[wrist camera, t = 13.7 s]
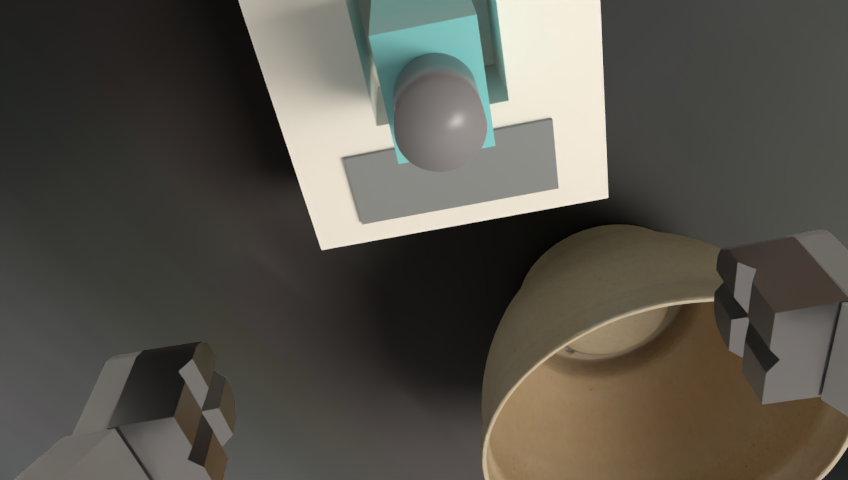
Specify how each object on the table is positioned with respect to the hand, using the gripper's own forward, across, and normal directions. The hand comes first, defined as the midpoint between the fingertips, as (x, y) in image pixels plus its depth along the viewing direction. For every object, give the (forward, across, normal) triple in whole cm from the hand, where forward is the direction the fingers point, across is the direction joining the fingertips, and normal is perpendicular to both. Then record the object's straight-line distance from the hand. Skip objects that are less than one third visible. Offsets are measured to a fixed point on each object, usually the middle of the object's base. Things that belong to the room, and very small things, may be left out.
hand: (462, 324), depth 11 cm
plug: (+19, 0, +1) cm, 19 cm away
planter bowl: (+21, -7, +18) cm, 29 cm away
